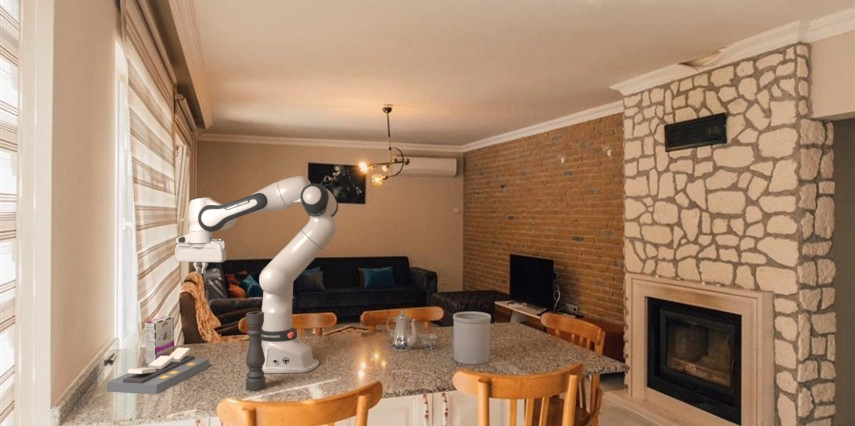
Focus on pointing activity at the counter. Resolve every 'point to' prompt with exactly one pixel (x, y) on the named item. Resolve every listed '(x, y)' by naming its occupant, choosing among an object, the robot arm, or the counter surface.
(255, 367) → the candle holder
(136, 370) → the switch
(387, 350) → the counter surface
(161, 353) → the candy bar box
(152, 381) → the switch board
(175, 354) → the switch
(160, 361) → the switch
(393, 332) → the chinaware
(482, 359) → the utensil holder
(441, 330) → the counter surface
